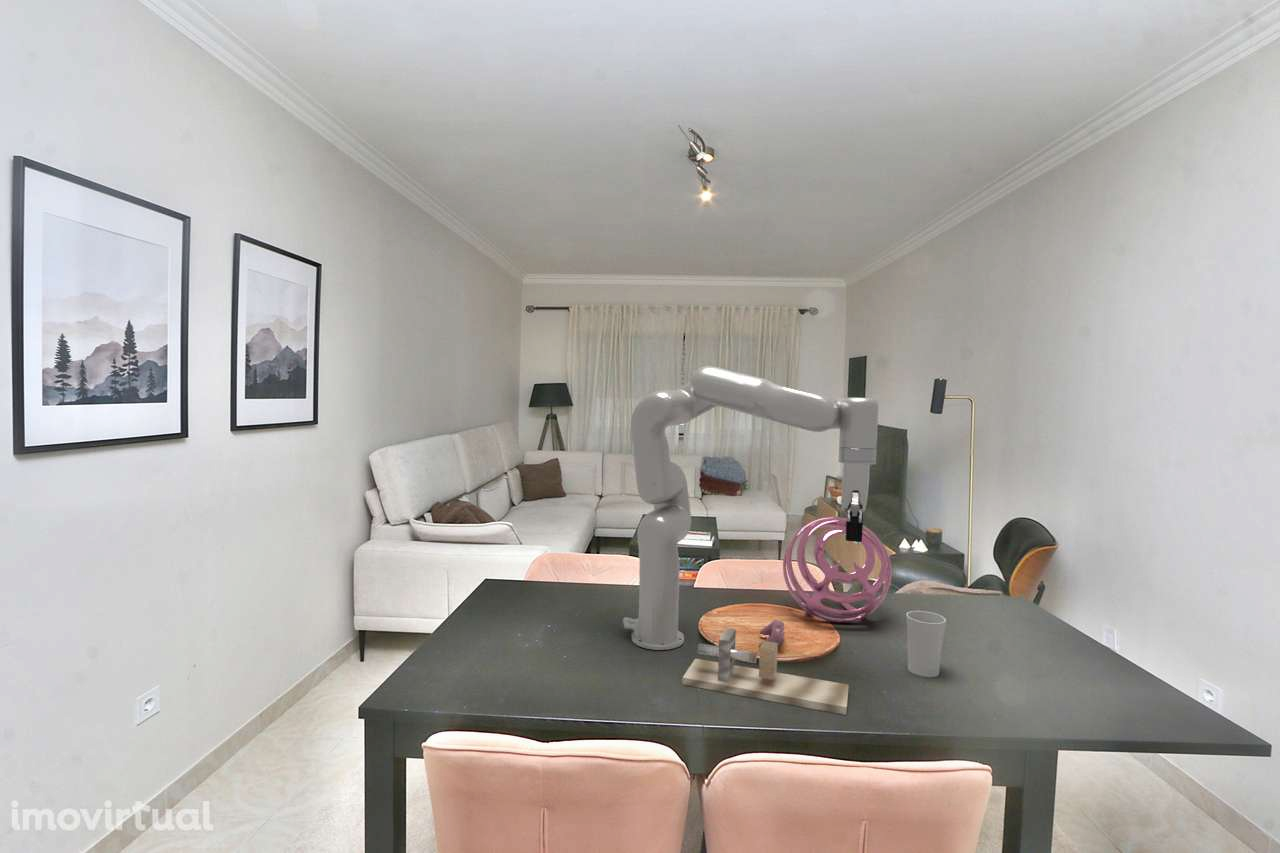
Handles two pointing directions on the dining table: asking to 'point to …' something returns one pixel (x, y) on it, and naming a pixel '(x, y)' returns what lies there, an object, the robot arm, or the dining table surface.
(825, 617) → the spiral basket
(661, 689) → the dining table surface
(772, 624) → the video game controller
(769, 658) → the peg
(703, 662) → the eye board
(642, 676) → the dining table surface
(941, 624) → the cup
